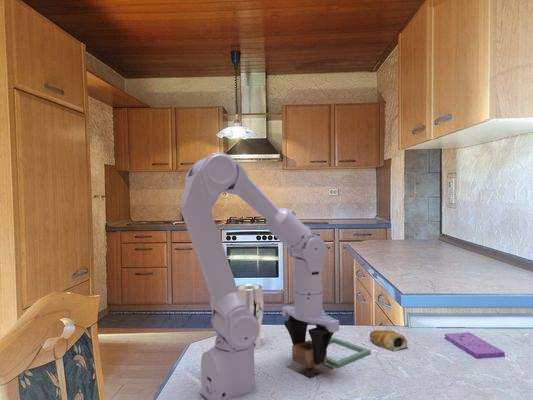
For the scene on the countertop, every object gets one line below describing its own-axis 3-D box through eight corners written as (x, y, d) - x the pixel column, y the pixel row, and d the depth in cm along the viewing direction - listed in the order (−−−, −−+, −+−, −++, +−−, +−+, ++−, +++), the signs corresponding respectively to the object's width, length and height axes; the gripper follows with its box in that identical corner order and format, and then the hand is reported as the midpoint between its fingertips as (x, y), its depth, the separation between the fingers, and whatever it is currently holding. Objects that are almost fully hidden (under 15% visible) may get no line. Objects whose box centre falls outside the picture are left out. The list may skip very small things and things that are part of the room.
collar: (309, 368, 71) (309, 353, 71) (292, 360, 75) (292, 345, 75) (326, 361, 74) (326, 346, 74) (309, 354, 78) (309, 340, 78)
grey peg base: (310, 384, 70) (309, 361, 70) (286, 372, 75) (285, 350, 75) (334, 373, 74) (333, 352, 74) (310, 362, 80) (309, 342, 80)
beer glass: (251, 357, 83) (250, 291, 83) (229, 350, 87) (228, 287, 88) (269, 347, 89) (269, 286, 89) (248, 341, 93) (247, 282, 93)
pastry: (362, 341, 93) (362, 325, 93) (383, 336, 95) (383, 322, 96) (389, 354, 84) (389, 337, 84) (411, 349, 87) (410, 333, 87)
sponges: (469, 339, 93) (469, 331, 93) (506, 359, 81) (505, 351, 81) (443, 340, 93) (443, 333, 93) (476, 361, 80) (475, 352, 80)
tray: (337, 373, 74) (337, 364, 74) (300, 357, 83) (300, 348, 83) (370, 359, 81) (370, 350, 81) (333, 345, 89) (332, 337, 89)
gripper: (348, 295, 72) (350, 364, 71) (298, 283, 83) (299, 343, 83) (324, 301, 67) (325, 374, 67) (274, 288, 79) (275, 351, 78)
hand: (309, 358), depth 75 cm, fingers closed on collar, 5 cm apart
